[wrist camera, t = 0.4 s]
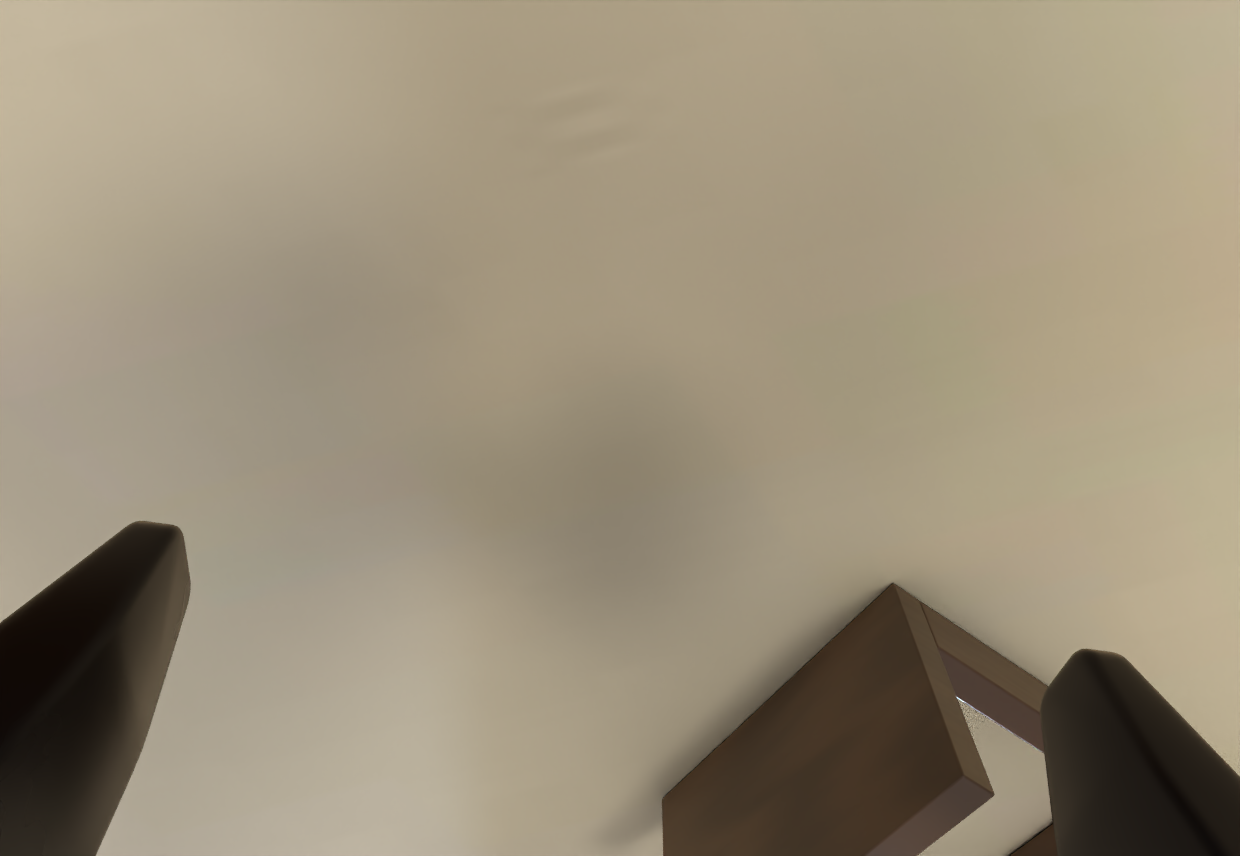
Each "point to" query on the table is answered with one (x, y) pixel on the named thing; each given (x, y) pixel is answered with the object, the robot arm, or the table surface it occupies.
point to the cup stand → (860, 747)
